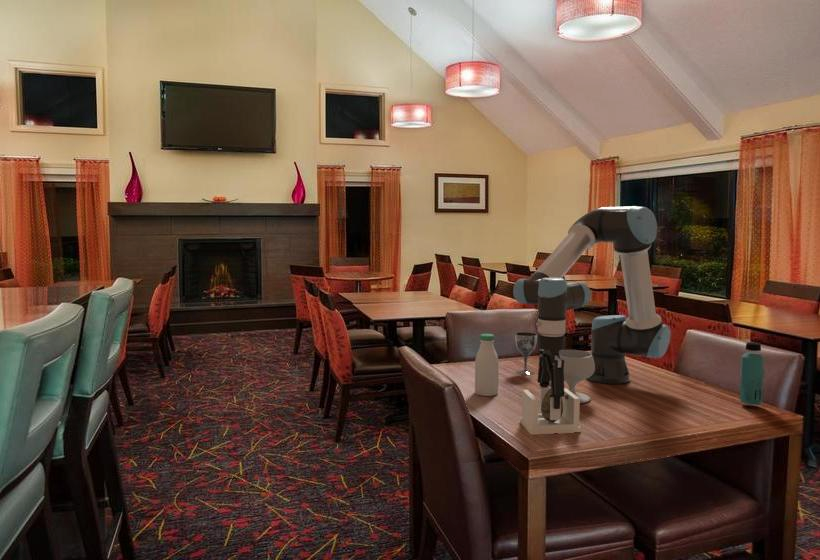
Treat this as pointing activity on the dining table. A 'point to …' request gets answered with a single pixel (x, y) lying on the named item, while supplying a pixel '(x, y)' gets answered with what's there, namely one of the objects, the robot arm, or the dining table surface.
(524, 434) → the dining table surface
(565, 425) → the holder
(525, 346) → the wine glass
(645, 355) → the robot arm
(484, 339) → the milk bottle
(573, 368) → the chalice
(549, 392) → the decorative egg
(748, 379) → the beverage bottle
